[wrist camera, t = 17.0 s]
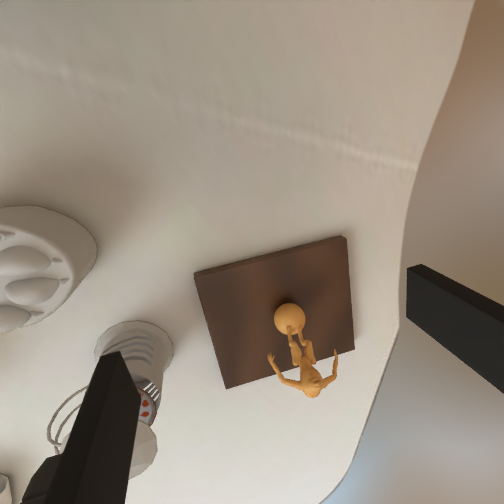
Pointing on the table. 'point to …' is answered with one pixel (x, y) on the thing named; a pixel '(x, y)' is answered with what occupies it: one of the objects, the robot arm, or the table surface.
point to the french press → (142, 372)
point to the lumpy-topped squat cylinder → (39, 263)
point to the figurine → (290, 323)
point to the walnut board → (269, 300)
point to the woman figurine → (5, 490)
